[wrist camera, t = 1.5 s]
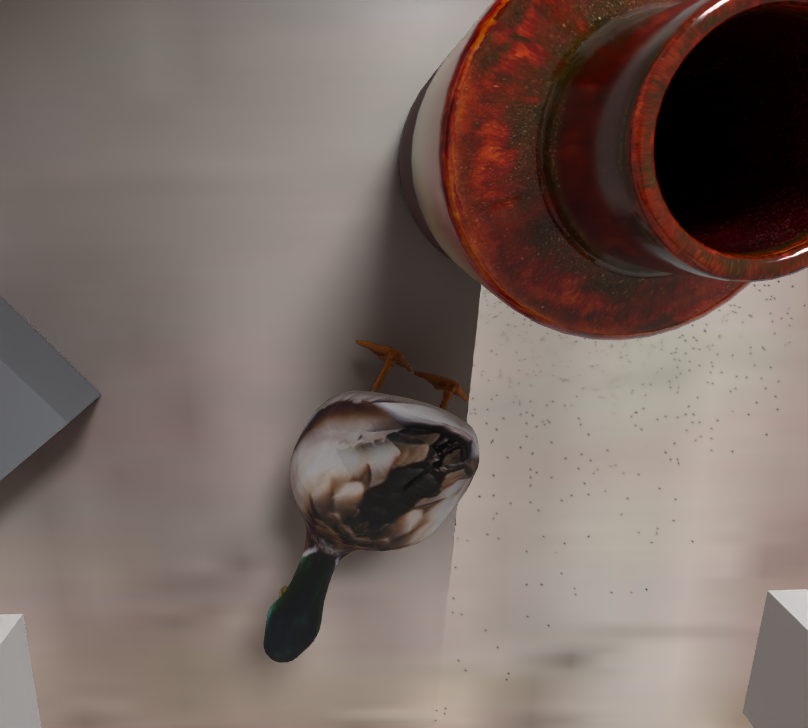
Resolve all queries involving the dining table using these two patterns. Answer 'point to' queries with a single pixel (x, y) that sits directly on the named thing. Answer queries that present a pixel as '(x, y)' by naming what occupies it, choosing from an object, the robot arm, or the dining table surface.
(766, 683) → the robot arm
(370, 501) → the decorative duck model
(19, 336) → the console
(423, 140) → the vase
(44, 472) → the dining table surface
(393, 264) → the dining table surface
